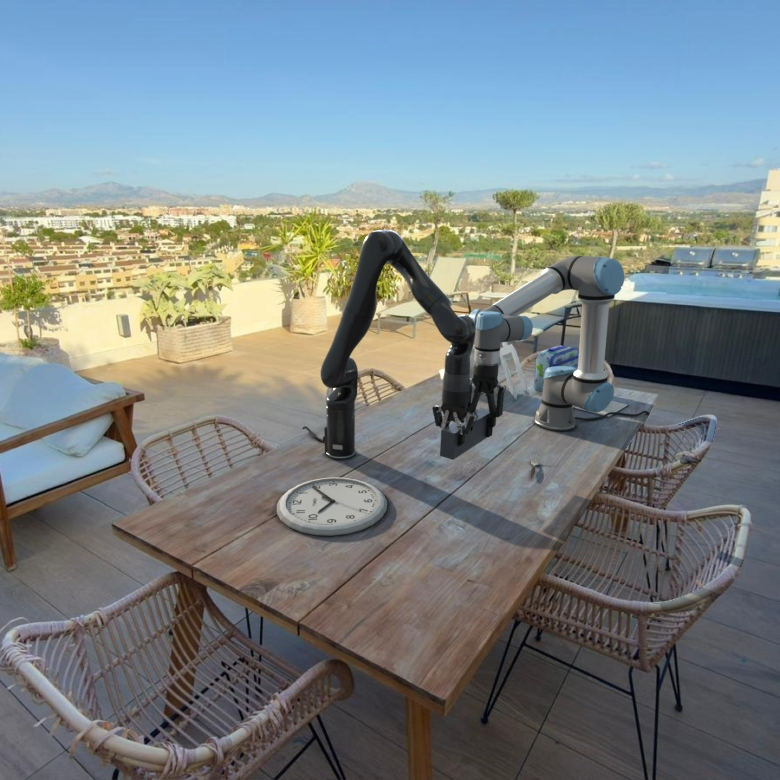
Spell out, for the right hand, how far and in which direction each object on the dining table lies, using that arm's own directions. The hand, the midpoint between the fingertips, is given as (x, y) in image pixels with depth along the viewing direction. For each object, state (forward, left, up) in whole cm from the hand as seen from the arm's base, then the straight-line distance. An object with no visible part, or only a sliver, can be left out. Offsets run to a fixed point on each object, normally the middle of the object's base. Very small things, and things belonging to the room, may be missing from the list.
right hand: (481, 433), depth 166 cm
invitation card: (-55, -66, -11) cm, 87 cm away
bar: (+5, +8, -1) cm, 9 cm away
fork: (-17, +2, -11) cm, 20 cm away
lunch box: (-39, -87, -11) cm, 96 cm away
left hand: (+9, +16, +3) cm, 18 cm away
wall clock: (+41, +33, -11) cm, 53 cm away
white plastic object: (-4, -78, -11) cm, 79 cm away
